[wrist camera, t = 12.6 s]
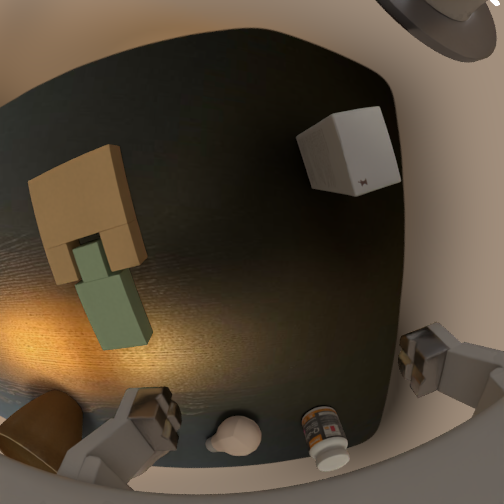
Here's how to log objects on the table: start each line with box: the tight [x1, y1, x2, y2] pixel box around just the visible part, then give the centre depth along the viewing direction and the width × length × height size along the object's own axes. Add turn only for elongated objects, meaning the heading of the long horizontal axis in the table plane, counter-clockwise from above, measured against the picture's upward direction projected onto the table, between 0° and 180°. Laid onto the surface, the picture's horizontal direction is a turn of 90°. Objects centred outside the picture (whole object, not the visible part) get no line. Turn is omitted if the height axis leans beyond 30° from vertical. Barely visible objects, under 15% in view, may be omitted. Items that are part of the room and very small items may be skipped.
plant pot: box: [0, 390, 83, 474], centre depth 30 cm, size 15×15×16 cm
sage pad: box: [72, 238, 153, 350], centre depth 31 cm, size 13×6×3 cm, turn 13°
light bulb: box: [206, 416, 261, 456], centre depth 37 cm, size 7×7×11 cm
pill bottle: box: [302, 406, 350, 471], centre depth 35 cm, size 6×6×10 cm
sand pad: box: [28, 144, 148, 285], centre depth 28 cm, size 13×12×3 cm
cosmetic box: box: [296, 106, 401, 197], centre depth 24 cm, size 6×4×12 cm
